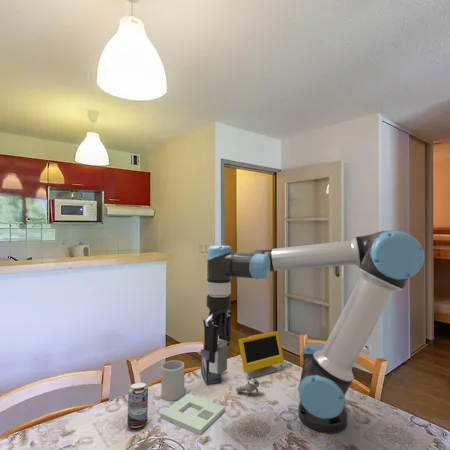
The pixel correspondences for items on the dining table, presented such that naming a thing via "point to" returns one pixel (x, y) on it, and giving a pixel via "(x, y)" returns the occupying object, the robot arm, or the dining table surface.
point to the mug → (172, 380)
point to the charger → (222, 355)
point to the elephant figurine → (249, 387)
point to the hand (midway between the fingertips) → (217, 368)
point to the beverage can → (137, 405)
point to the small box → (208, 376)
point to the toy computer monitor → (261, 353)
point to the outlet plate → (199, 420)
